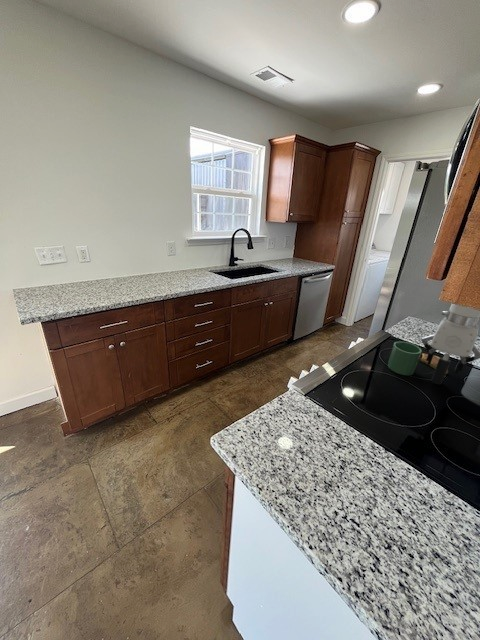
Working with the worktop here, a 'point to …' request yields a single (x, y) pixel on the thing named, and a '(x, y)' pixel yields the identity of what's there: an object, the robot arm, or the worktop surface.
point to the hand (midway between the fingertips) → (442, 366)
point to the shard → (433, 361)
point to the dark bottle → (441, 369)
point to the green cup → (404, 358)
